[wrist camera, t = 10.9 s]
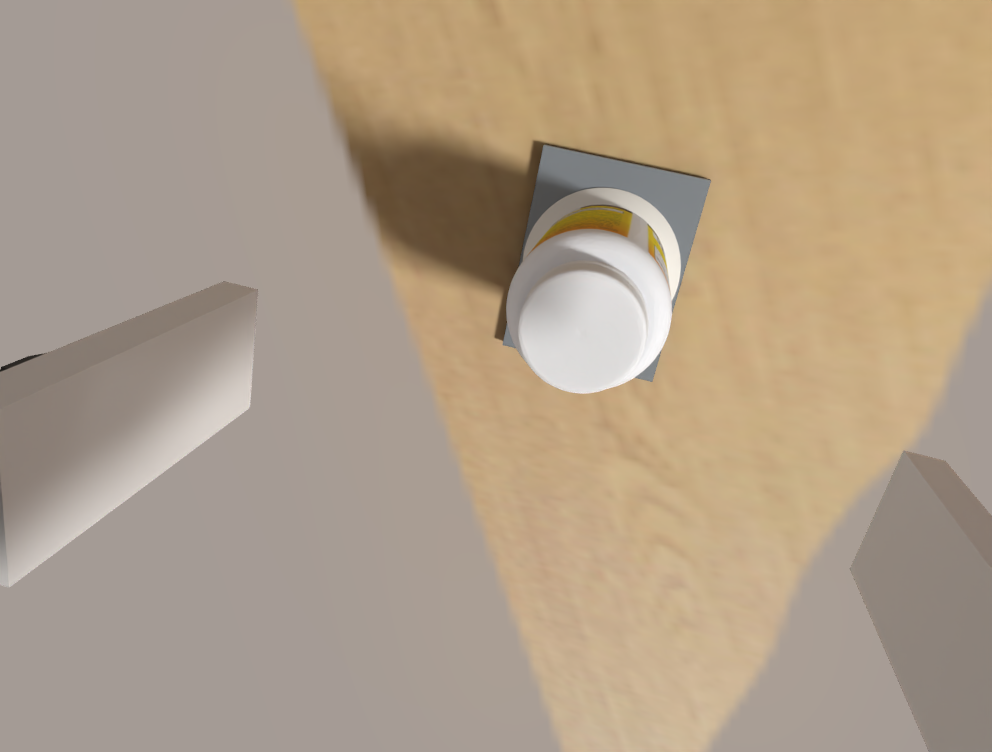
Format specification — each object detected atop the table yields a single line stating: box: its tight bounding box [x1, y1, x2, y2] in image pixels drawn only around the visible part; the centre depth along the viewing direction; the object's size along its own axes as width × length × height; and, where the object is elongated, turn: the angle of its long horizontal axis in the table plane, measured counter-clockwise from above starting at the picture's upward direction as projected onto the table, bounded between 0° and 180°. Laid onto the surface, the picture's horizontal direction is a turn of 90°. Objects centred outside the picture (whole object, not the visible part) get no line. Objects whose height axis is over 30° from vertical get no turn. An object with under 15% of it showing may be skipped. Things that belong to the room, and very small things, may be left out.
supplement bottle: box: [506, 204, 672, 393], centre depth 27 cm, size 6×6×10 cm
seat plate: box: [503, 144, 711, 382], centre depth 32 cm, size 9×7×1 cm
